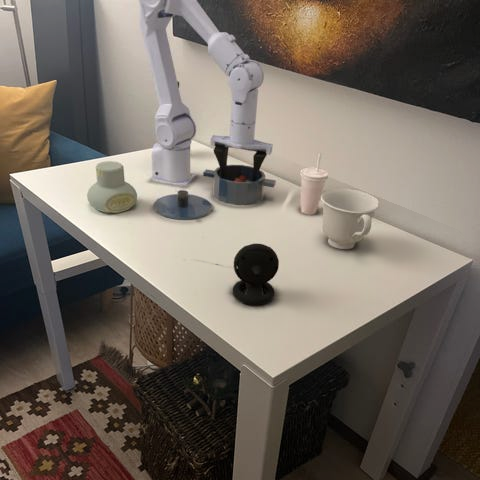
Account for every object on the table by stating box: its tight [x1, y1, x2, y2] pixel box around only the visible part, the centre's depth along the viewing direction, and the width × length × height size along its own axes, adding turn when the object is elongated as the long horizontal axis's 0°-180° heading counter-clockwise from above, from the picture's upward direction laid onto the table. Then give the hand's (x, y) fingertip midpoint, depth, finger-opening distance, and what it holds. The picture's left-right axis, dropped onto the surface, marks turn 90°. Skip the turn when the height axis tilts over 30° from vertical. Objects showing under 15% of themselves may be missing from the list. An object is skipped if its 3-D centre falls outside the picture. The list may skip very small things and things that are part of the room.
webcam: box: [232, 243, 280, 306], centre depth 86 cm, size 8×8×10 cm
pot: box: [202, 164, 277, 206], centre depth 123 cm, size 12×18×6 cm
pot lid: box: [153, 189, 213, 221], centre depth 115 cm, size 13×13×4 cm
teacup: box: [320, 188, 381, 250], centre depth 104 cm, size 12×15×10 cm
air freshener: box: [86, 160, 138, 214], centre depth 111 cm, size 11×8×10 cm
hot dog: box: [234, 175, 249, 182], centre depth 123 cm, size 8×3×4 cm, turn 165°
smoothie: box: [299, 152, 329, 215], centre depth 116 cm, size 6×6×14 cm
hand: (238, 178), depth 122 cm, fingers open, 7 cm apart
